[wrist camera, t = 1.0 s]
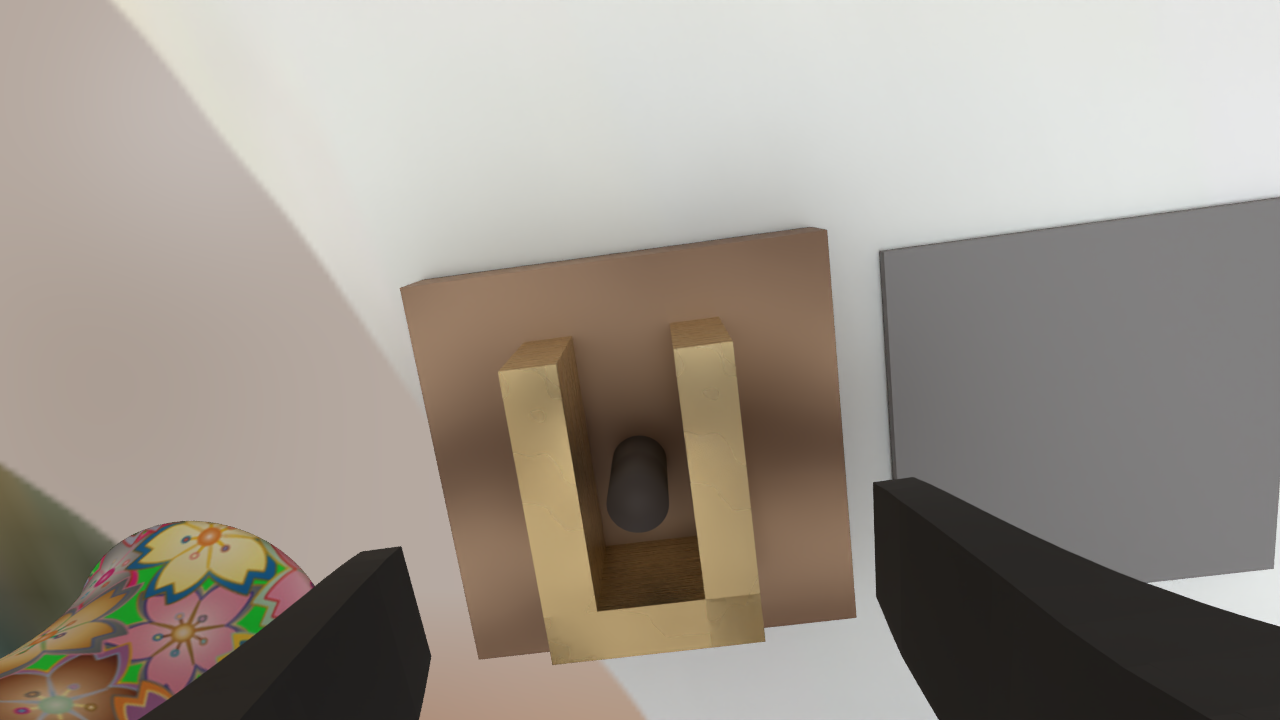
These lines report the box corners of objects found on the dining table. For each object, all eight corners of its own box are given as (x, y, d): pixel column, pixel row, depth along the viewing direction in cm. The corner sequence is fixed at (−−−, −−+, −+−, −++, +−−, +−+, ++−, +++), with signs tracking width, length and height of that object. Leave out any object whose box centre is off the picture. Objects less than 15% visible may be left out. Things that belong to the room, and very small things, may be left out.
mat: (1263, 562, 24) (1273, 568, 23) (900, 603, 24) (904, 609, 24) (1288, 196, 21) (1299, 196, 20) (879, 251, 21) (884, 252, 21)
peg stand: (839, 583, 24) (888, 682, 19) (492, 622, 24) (453, 728, 20) (810, 227, 21) (858, 235, 16) (422, 279, 22) (356, 303, 17)
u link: (747, 571, 22) (765, 641, 18) (567, 592, 22) (552, 665, 19) (718, 316, 20) (732, 341, 16) (523, 342, 20) (497, 372, 17)
